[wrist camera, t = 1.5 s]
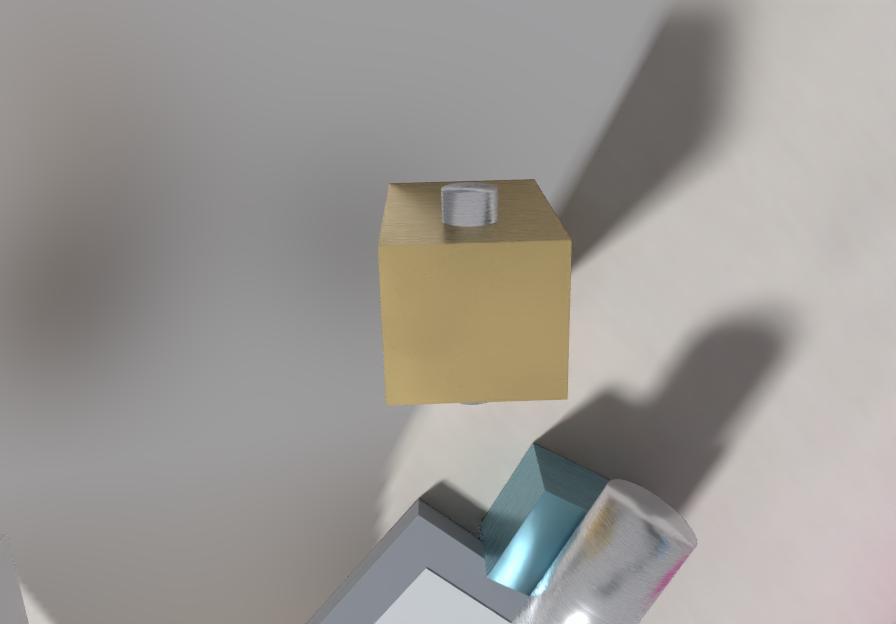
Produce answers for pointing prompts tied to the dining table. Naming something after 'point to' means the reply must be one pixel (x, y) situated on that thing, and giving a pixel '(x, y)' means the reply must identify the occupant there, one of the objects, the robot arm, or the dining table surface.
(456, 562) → the cradle
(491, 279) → the block
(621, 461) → the dining table surface
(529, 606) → the shaft
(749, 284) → the dining table surface
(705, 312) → the dining table surface
